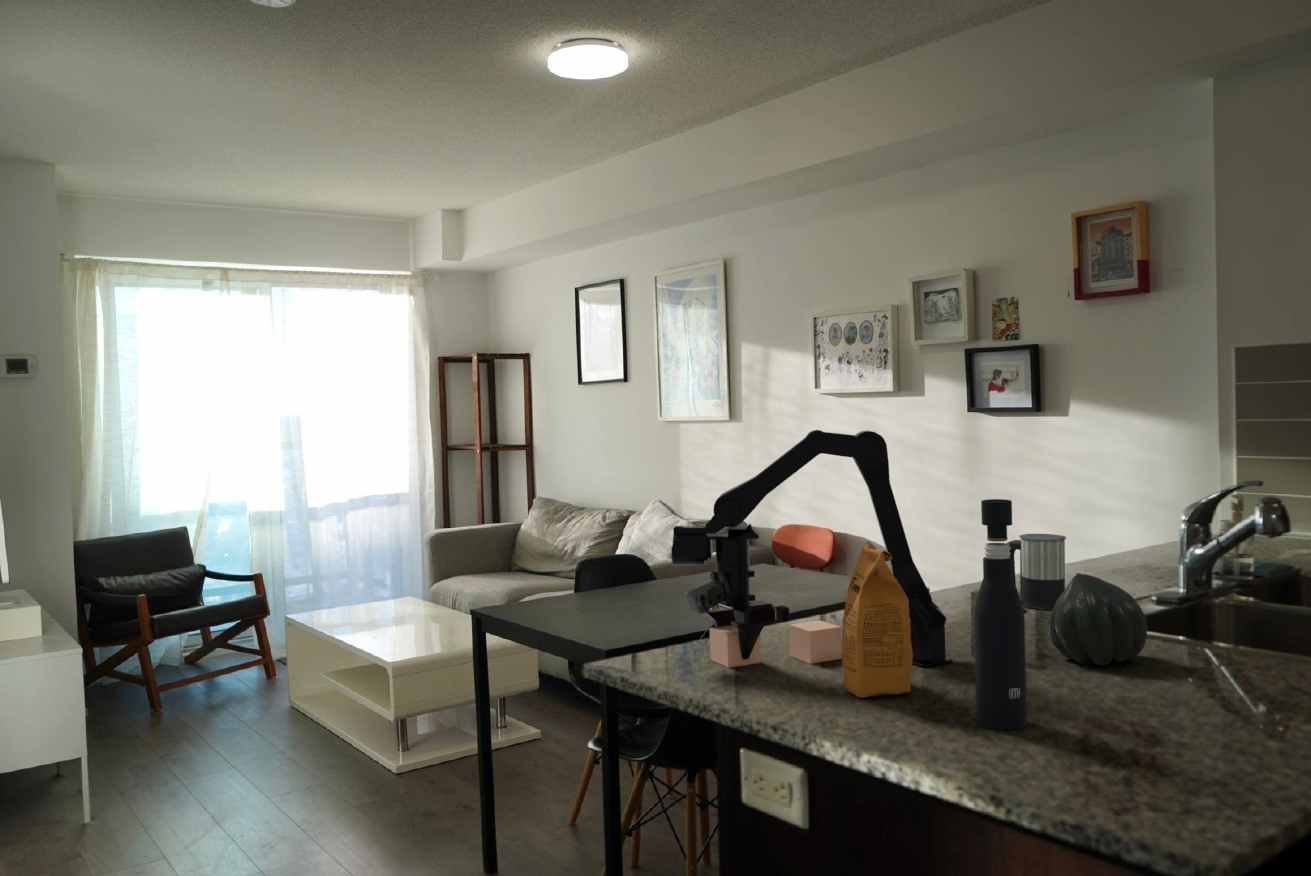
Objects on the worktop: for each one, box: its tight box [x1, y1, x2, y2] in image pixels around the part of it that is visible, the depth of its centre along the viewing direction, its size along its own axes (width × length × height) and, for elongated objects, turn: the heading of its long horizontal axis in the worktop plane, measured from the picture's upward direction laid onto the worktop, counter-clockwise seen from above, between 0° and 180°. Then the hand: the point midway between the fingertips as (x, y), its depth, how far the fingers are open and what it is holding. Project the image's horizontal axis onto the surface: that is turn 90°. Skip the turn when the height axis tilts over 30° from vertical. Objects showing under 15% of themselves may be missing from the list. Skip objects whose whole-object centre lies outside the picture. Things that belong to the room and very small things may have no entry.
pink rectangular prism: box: [788, 619, 842, 665], centre depth 174 cm, size 6×6×6 cm
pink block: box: [709, 625, 762, 669], centre depth 173 cm, size 6×6×6 cm
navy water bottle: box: [973, 498, 1028, 731], centre depth 135 cm, size 6×6×30 cm
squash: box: [1048, 572, 1148, 667], centre depth 167 cm, size 14×15×15 cm
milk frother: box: [1006, 533, 1067, 611], centre depth 210 cm, size 14×16×15 cm
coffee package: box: [841, 541, 913, 699], centre depth 153 cm, size 10×12×22 cm
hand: (735, 655), depth 173 cm, fingers closed on pink block, 6 cm apart
